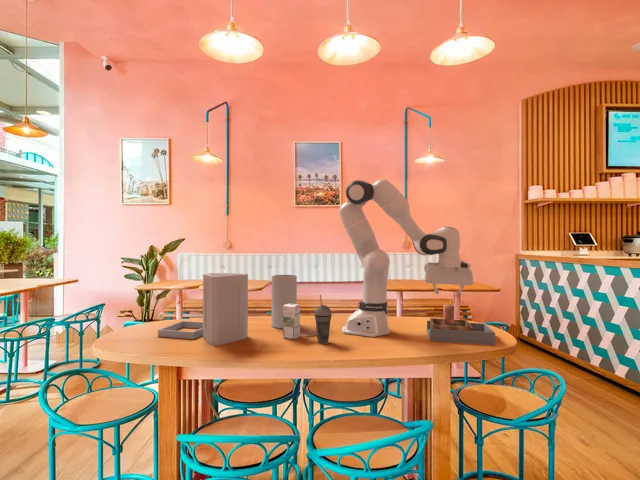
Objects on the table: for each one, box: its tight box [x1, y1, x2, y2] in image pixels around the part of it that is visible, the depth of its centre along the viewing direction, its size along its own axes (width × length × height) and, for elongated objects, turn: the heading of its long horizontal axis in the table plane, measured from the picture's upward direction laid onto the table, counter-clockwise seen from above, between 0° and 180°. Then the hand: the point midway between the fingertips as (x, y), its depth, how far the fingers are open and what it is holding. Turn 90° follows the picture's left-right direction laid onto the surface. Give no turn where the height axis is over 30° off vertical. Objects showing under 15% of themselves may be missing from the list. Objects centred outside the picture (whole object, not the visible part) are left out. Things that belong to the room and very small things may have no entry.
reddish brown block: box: [442, 304, 455, 325], centre depth 154 cm, size 4×4×12 cm
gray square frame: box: [157, 320, 203, 340], centre depth 159 cm, size 18×18×3 cm
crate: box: [429, 317, 473, 331], centre depth 154 cm, size 16×14×5 cm
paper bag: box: [202, 272, 249, 346], centre depth 148 cm, size 19×15×28 cm
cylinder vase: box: [271, 274, 298, 329], centre depth 173 cm, size 12×12×25 cm
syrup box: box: [282, 303, 301, 340], centre depth 152 cm, size 6×6×14 cm
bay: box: [426, 320, 496, 346], centre depth 153 cm, size 26×17×5 cm
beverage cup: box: [314, 294, 333, 345], centre depth 145 cm, size 7×7×20 cm
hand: (447, 294), depth 154 cm, fingers open, 8 cm apart
